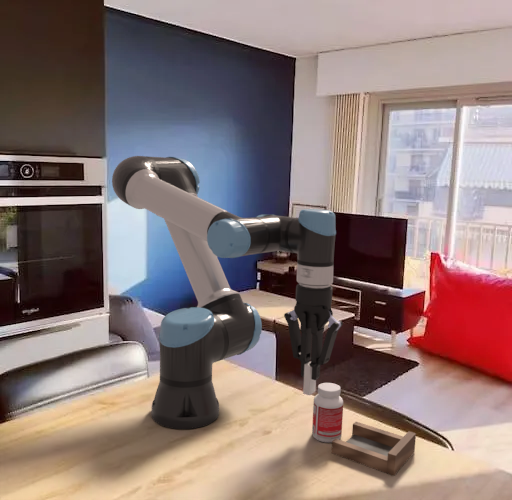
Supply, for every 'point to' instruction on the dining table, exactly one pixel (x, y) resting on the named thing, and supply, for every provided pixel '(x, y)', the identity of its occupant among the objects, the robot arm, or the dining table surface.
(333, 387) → the pill bottle
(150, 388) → the dining table surface
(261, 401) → the dining table surface
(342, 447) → the tray
